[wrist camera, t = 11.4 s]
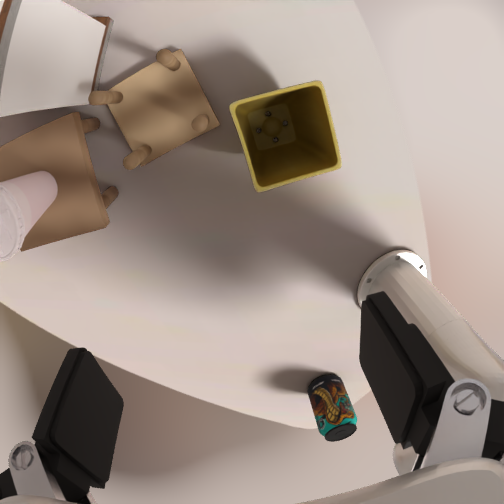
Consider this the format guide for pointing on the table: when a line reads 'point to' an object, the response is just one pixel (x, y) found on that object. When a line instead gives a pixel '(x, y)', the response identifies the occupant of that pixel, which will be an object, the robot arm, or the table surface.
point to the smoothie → (23, 208)
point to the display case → (48, 55)
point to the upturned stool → (158, 108)
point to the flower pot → (287, 135)
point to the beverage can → (332, 408)
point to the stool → (60, 178)
